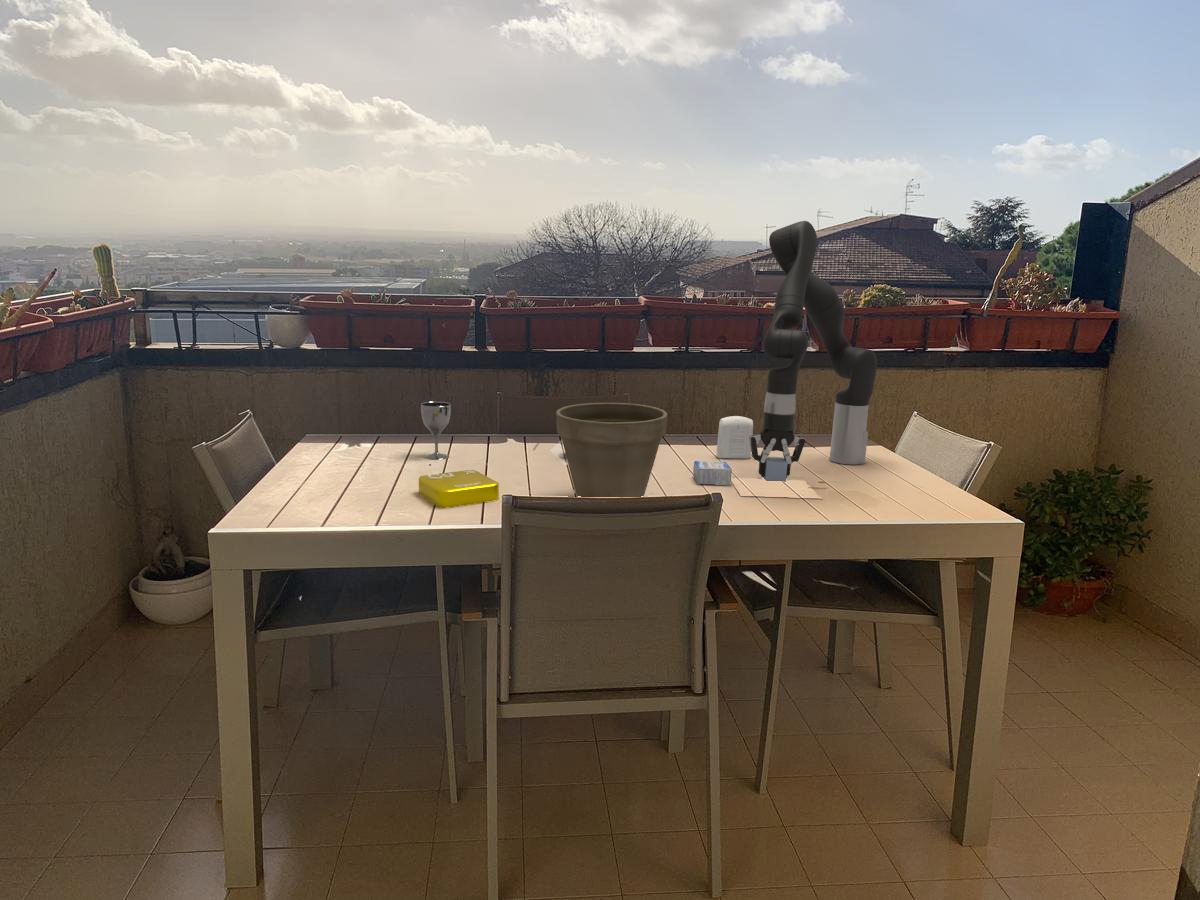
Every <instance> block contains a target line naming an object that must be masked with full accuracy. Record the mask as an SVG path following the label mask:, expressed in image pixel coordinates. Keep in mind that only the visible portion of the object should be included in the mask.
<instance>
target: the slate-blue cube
mask: <svg viewBox="0 0 1200 900" xmlns="http://www.w3.org/2000/svg"><path fill="white" fill-rule="evenodd" d="M765 463H766V469H765V477H762V478H764V479H765V480H766V481H784V482H786V479H787V478H786V474H787V463H788V462H787V461H786V460H785V459H784V456H783V457H779V456H768V457H767V459H766V461H765Z"/></svg>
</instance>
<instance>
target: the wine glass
mask: <svg viewBox="0 0 1200 900" xmlns="http://www.w3.org/2000/svg"><path fill="white" fill-rule="evenodd" d="M451 410H452V409H451V403H450V402H447V401H425V402H422V403H421V404H420V413H421V418H422V422H423V425H424V426H425V427H426V428H427V429H428V431H430V433H431V435H432V436H433V440H434V441H433V442H434V452H433V453H429V454H425V455H424V456H423V458H424V459H426V460H435V461H438V460H440V461H441V460H447V459H449V458H450V455H449V454H445V453H440V452H439V438H440V436H441V433H442V432H443V431H444V429H445V428H446V427H448V425H449V423H450V419H451Z"/></svg>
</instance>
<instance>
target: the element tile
mask: <svg viewBox="0 0 1200 900" xmlns="http://www.w3.org/2000/svg"><path fill="white" fill-rule="evenodd" d="M499 487H500V483H499V482H498V481H497V480H495V479H492V478H491V477H489V476H487V475H485V474H484V473H481V472H480V471H478V470H475V469H466V470H458V471H451V472H443V473H429V474H426V475H420V476H418V494H419V495H420V496H421V497H422V498H424V499H426V500H427V501H429V502H430V503H432V504H433V505H434V506H436V507H438V508H440V507H442V509H447V508H446V507H450V508H455V507H454V506H457V507H460V506H459V505H464V506H468V505H467V504H471V505H475V504H474V503H477V504H480V503H479V502H484V503H487V502H486V501H491V502H493V501H492V500H496V501H498V500H499V499H500V498H499V497H500V494H499V493H500V492H499V491H500V490H499V489H500V488H499Z"/></svg>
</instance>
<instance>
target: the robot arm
mask: <svg viewBox="0 0 1200 900" xmlns="http://www.w3.org/2000/svg"><path fill="white" fill-rule="evenodd" d="M768 242H769V243H768V244H769V248H770V250H771V251H770V252H771V253H772V256H773V257H774V259H775V261H776V262H777V264H778V266H779V267H780V269H781V270H782V271H783V273H784V274H785V277H784V279H783V281H782V282H781V284H780V286H779V288H778V290H777V292H776V296H775V300H774V309H773V311H774V312H773V315H772V316H773V317H772V319H771V323H770V325H769V327H768V330H767V332H766V334H765V336H764V338H763V341H762V350H763V352H764V354H765V355H766V356H767V357H768V358H771V359H790V363H789V364H787V365H786V366H780V367H774V368H771V369H770V370H769V371H768V373H767V382H766V384H767V386H766V394H765V399H764V408H763V419H762V429H761V432H760V434H758V435H754V434H753V435H751V436H750V437H749V440H750V446H751V456H752V459H753V460H754V461H758V463H759V464H758V474H759V475H760V478H763V477H765V469H766V463H765V461H766V459H767V457H769V456H770V454H771V452H777V451H778V452H781V453H782V455H783V458H784V459H785V460H786V461H787V462H788V463H787V474H786V479H788V477H789V476H790V475H791V465H792V464H793V463H795V462H799V460H800V458H801V454H802V452H803V449H804V445H805V444H806V440H805V439H804V438H803V437H802V436H795V434H794V427H795V416H796V410H797V407H796V406H797V400H796V399H797V398H796V396H797V395H796V394H797V385H798V376H799V372H800V368H801V365H802V362H803V360H804V358H805V355H806V353H807V349H808V346H809V337H808V335H807V333H806V332H805V331H804V330H800V329H795V328H796V327H797V328H798V326H800V325H801V324H802V322H803V317H804V310H805V311H806V312H805V313H806V314H807V315H808V317H809V319H810V321H811V323H812V324H813V327H814V328H815V330H816V332H817V334H818V336H819V339H820V340H821V341H822V344H823V346H824V348H825V351H826V353H827V356H828V359H829V361H830V364H831V366H832V369H833V370H834V372H835V373H836V375H837V376H839V377H840V378H842V379H847V380H849V385H848V388H846V389H845V390H841V391H838V392H837V393H836V395H835V403H834V410H833V411H834V413H833V422H832V430H831V431H832V432H831V433H832V434H831V441H830V442H831V443H830V451H829V461H831V462H832V463H837V464H841V465H853V466H854V465H861V464H862V465H864V464H866V463H865V462H866V454H867V445H868V437H869V432H868V430H867V424H868V423H867V422H868V414H869V406H870V405H869V404H870V399H871V397H872V395H873V392H874V387H875V381H876V375H877V369H878V360H877V355H876V353H875V352H874V351H873V350H871V349H869V348H862V347H854V346H852V345H851V344H850V342H849V341H848V339H847V337H846V335H845V333H844V322H845V307H844V305H843V303H842V301H841V298H840V296H839V294H838V292H837V291H836V289H835V288H834V287H833V286H832V285H831V284H830V283H828V282H827V281H825V280H824V279H822V278H820V277H819V276H817V275H815V274H813V273H812V268H813V264H814V261H815V257H816V254H817V249H818V248H817V247H818V235H817V232H816V229H815V227H814V226H813V225H812V223H811V222H809V221H808V220H802V221H797V222H794V223H792V224H789V225H786V226H783V227H780V228H778V229H776V230H774V231H772V232H771V233H770V235H769V238H768ZM760 440H761V441H762V442H763V447H762V450H761V453H760V455H759V453H758V444H759V443H760ZM792 443H794V445H795V447H794V450H793V452H792V455H791V454H790V453H791V452H790V449H789V446H790V445H791V444H792Z"/></svg>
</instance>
